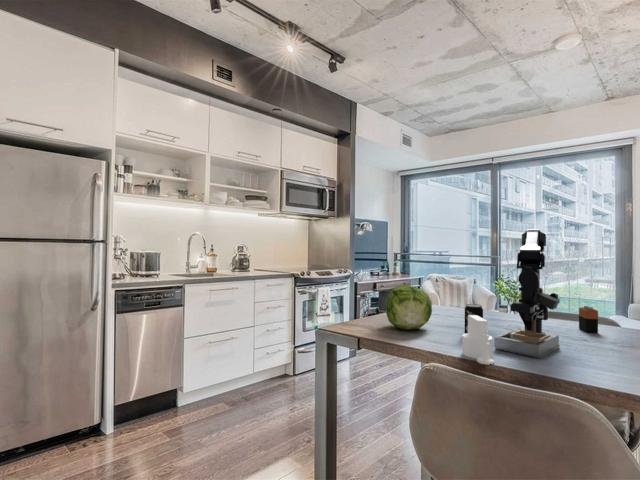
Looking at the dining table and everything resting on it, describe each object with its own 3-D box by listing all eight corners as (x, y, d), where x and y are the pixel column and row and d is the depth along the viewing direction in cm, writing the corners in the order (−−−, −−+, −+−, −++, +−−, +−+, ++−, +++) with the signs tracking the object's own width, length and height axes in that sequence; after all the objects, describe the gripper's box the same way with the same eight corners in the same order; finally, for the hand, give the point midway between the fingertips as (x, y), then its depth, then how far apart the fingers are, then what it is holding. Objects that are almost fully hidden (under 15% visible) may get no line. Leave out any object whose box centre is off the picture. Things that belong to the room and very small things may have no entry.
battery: (586, 332, 150) (586, 307, 150) (578, 329, 157) (578, 305, 157) (598, 333, 149) (598, 308, 149) (590, 329, 156) (590, 305, 156)
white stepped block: (458, 350, 126) (458, 315, 126) (485, 351, 126) (485, 315, 126) (468, 359, 117) (468, 320, 117) (497, 359, 117) (497, 321, 117)
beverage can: (484, 338, 141) (484, 306, 141) (466, 337, 142) (466, 306, 142) (480, 334, 147) (481, 304, 147) (463, 333, 149) (463, 303, 149)
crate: (519, 338, 137) (519, 315, 137) (550, 344, 129) (550, 320, 129) (510, 342, 131) (510, 318, 131) (541, 349, 124) (541, 323, 124)
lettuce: (386, 336, 146) (394, 292, 144) (380, 316, 169) (387, 277, 167) (436, 344, 146) (444, 299, 143) (423, 322, 169) (430, 284, 166)
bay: (516, 339, 140) (516, 327, 140) (559, 347, 129) (559, 335, 129) (493, 349, 127) (493, 336, 127) (539, 359, 117) (539, 345, 117)
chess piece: (473, 359, 117) (473, 327, 117) (489, 359, 117) (489, 327, 117) (481, 364, 112) (481, 331, 112) (497, 364, 112) (497, 331, 112)
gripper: (546, 289, 118) (546, 339, 118) (565, 284, 130) (565, 329, 130) (509, 286, 126) (509, 332, 126) (530, 282, 139) (530, 324, 139)
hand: (530, 329), depth 130 cm, fingers closed on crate, 2 cm apart
